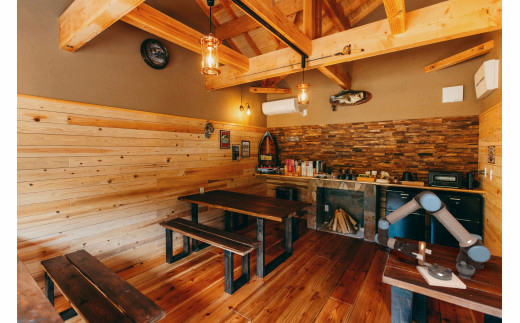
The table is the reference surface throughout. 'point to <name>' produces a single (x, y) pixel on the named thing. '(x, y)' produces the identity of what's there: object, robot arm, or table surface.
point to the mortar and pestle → (465, 270)
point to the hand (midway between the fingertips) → (427, 255)
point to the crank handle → (434, 266)
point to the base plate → (454, 282)
